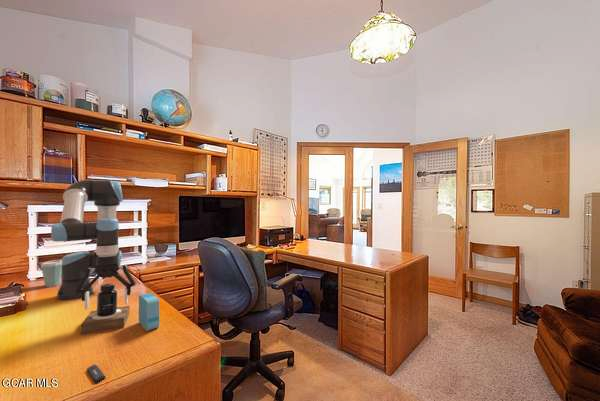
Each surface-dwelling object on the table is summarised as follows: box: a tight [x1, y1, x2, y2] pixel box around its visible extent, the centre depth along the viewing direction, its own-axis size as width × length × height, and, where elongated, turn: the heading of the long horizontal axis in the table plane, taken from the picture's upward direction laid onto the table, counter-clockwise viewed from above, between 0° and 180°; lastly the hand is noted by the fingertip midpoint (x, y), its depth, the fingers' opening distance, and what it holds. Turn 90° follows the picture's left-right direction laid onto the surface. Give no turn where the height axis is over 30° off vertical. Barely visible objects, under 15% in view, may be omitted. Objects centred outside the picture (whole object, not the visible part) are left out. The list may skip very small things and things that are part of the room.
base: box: [80, 305, 130, 336], centre depth 110 cm, size 14×14×4 cm
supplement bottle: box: [96, 283, 118, 317], centre depth 110 cm, size 7×7×12 cm
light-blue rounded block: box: [138, 292, 160, 332], centre depth 109 cm, size 12×4×12 cm, turn 45°
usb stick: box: [86, 364, 106, 384], centre depth 77 cm, size 10×3×2 cm, turn 51°
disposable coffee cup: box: [40, 259, 62, 288], centre depth 162 cm, size 11×11×15 cm
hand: (107, 305), depth 110 cm, fingers open, 13 cm apart
